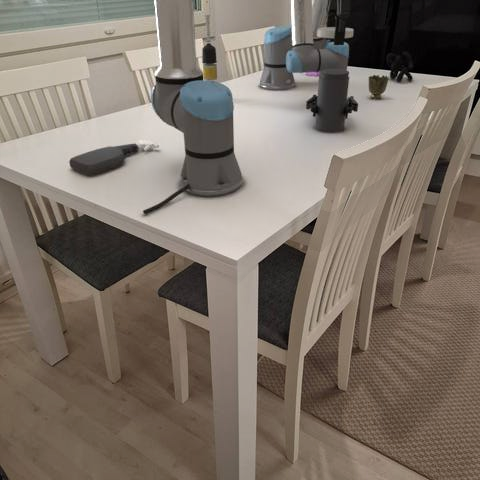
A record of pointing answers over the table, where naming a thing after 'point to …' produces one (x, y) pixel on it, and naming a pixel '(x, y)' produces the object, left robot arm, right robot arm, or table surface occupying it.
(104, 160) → the spray bottle
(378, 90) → the cup
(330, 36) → the lid
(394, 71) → the squiggle
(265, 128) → the table surface
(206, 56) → the filter
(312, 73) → the bracket
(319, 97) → the jar
